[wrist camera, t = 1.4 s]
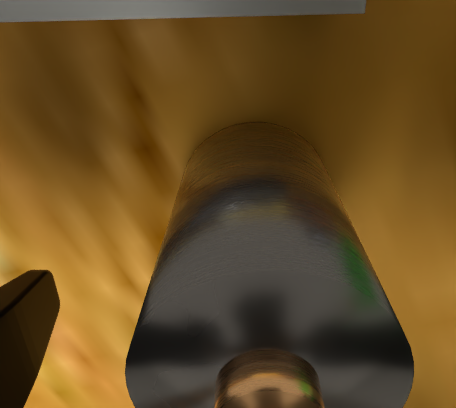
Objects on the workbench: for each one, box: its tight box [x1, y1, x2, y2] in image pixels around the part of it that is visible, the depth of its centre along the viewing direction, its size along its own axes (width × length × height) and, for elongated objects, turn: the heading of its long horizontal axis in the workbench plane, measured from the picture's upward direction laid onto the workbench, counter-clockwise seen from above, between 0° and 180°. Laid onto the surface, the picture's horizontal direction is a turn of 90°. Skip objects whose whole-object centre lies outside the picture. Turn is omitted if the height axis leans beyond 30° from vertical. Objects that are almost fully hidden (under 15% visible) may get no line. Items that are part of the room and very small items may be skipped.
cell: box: [125, 122, 414, 408], centre depth 9 cm, size 4×4×8 cm
